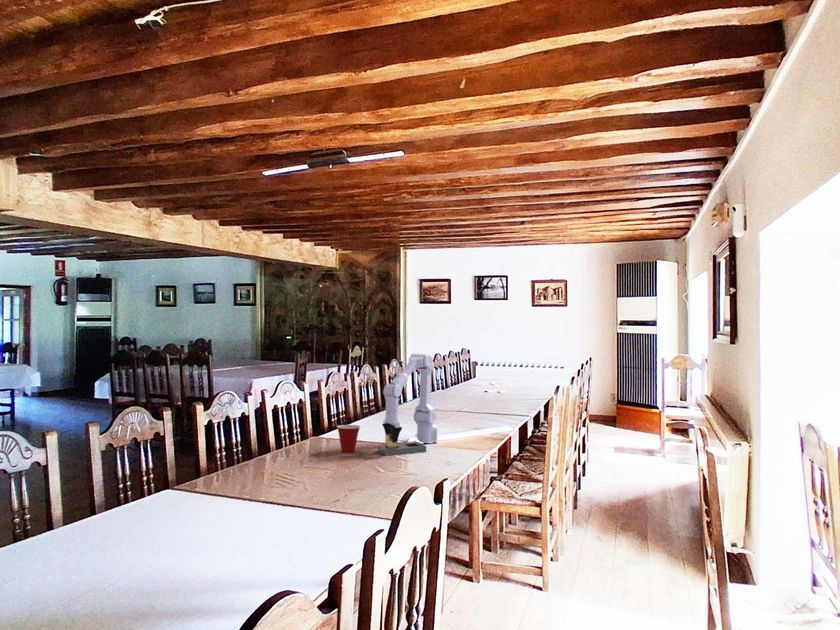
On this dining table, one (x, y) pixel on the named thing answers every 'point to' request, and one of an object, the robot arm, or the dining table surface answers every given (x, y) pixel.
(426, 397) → the robot arm
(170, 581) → the dining table surface
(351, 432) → the plastic cup
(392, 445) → the wooden peg
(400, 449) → the steel frame
